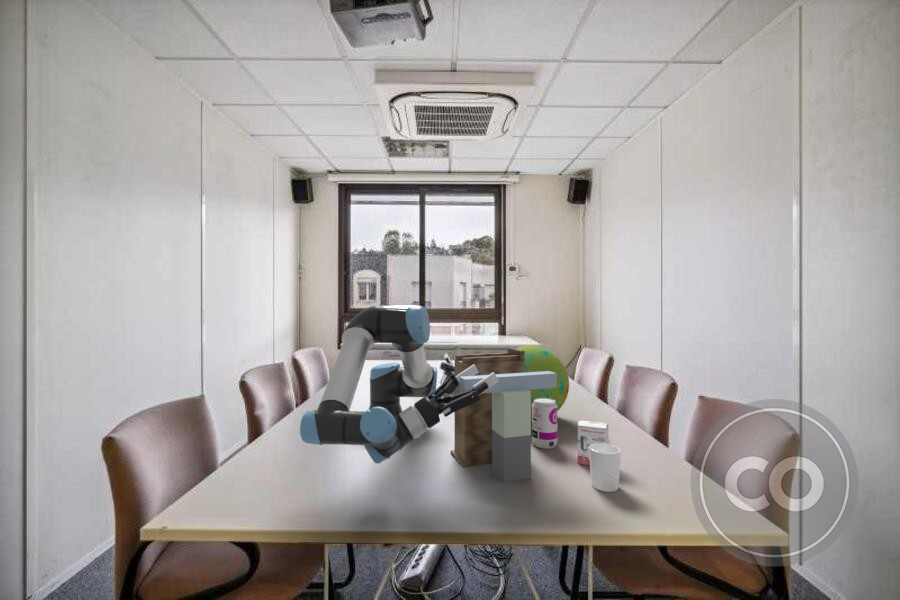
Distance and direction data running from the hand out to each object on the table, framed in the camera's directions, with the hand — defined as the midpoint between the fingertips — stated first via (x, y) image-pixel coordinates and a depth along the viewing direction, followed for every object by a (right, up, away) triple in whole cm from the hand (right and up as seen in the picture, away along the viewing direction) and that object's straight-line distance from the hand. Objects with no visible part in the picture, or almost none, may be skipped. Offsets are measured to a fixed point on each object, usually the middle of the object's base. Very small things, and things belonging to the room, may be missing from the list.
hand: (485, 372), depth 114 cm
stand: (+3, -29, +17) cm, 34 cm away
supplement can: (+22, -29, +26) cm, 45 cm away
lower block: (+7, -29, +3) cm, 30 cm away
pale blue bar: (+7, -5, +2) cm, 9 cm away
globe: (+23, -29, +56) cm, 67 cm away
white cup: (+31, -29, -5) cm, 43 cm away
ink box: (+33, -29, +11) cm, 45 cm away
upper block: (+7, -17, +3) cm, 19 cm away
